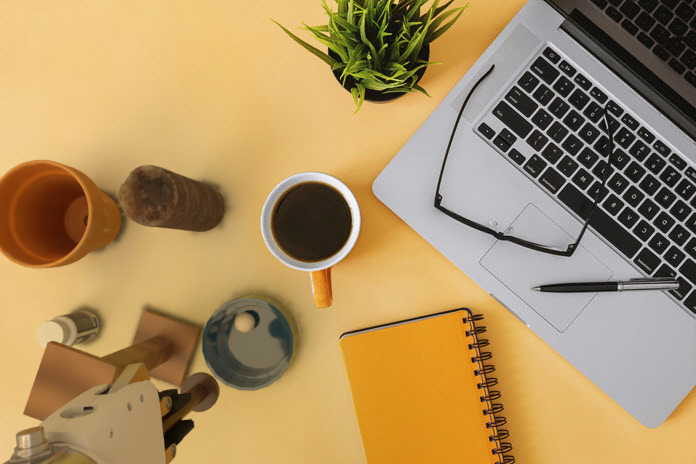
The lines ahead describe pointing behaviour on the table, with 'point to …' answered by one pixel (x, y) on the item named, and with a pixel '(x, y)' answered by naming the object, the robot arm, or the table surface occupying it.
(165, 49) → the table surface
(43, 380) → the stand
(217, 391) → the stick
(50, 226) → the flower pot
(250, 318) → the ball
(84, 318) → the pill bottle
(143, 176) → the brown textured cylinder
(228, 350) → the bowl
